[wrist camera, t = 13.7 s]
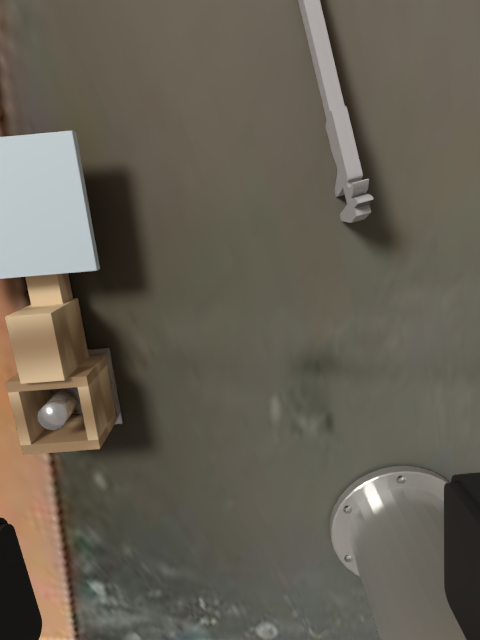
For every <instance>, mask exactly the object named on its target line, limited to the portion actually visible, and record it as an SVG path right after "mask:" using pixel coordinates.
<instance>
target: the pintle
mask: <svg viewBox="0 0 480 640" xmlns="http://www.w3.org/2000/svg"><path fill="white" fill-rule="evenodd" d="M88 355H89V356H102V355H106V361H107V367H108V372H109V378H110V384H111V389H112V395H113V401H114V407H115V412H116V418H117V421H116V423H115V424H123V419H122V413H121V408H120V402H119V397H118V391H117V386H116V380H115V374H114V369H113V363H112V358H111V352H110V347H109V348H97V349H88ZM50 391H51V395H52V398H51V399H50V400H49V401H48V402H47V403H46V404H45V405H44V406H43V407H42V408H41V409H40V411H39V412H38V421H39V423H40V424H41V426H43V427H44V428H46V429H48V430H57V429H59V428H61V427H62V426H63V424H64V423H65V422H66V421H67V419H68V418H69V417H70V416H71V415H81V414H83V412H82V407H81V402H80V397H79V392H78V387H73V388H60V389H50Z"/></svg>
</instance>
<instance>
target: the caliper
mask: <svg viewBox="0 0 480 640" xmlns="http://www.w3.org/2000/svg"><path fill="white" fill-rule="evenodd" d="M298 2H299V6H300V10H301V14H302V18H303V23H304V27H305V31H306V35H307V39H308V43H309V48H310V52H311V56H312V60H313V64H314V69H315V73H316V77H317V81H318V85H319V90H320V94H321V98H322V102H323V106H324V110H325V115H326V119H327V123H326V130H327V134H328V137H329V141H330V147H331V150H332V154H333V157H334V160H335V161H336V166H337V170H338V173H337V179H336V185H335V195H336V197H340V196H343V195H345V198H346V202H347V205H346V207H345V208H344V210H343V211H342V212H341V213H340V218H341V220H342V221H344V222H348V223H352V222H356V221H360V220H363V219H365V218H366V217H367V216H368V215H369V214H370V213H371V209H370V204H369V203H370V202H371V201H372V200H373V197H372V196H371V195H370V194H366V192H367V190H368V185H369V179H365V180H362V177H363V173H362V169H361V164H360V160H359V156H358V152H357V148H356V143H355V139H354V135H353V131H352V127H351V123H350V118H349V114H348V110H347V106H346V107H345V105H344V101H343V97H342V93H341V88H340V84H339V80H338V76H337V71H336V67H335V63H334V58H333V54H332V50H331V46H330V41H329V37H328V33H327V29H326V24H325V20H324V16H323V12H322V7H321V3H320V0H298Z"/></svg>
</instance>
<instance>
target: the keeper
mask: <svg viewBox="0 0 480 640" xmlns="http://www.w3.org/2000/svg"><path fill="white" fill-rule="evenodd" d="M99 269H100V266H99V260H98V254H97V249H96V243H95V237H94V231H93V226H92V220H91V214H90V209H89V203H88V197H87V192H86V186H85V180H84V175H83V169H82V163H81V158H80V152H79V146H78V141H77V135H76V132H74V131H62V132H52V133H41V134H30V135H19V136H8V137H0V279H3V278H15V277H27V276H39V275H51V274H62V273H74V272H86V271H97V270H99Z"/></svg>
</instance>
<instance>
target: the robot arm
mask: <svg viewBox="0 0 480 640" xmlns="http://www.w3.org/2000/svg"><path fill="white" fill-rule="evenodd" d="M329 529H330V535H331V540H332V544H333V547H334V550H335V552H336V554H337V556H338V558H339V560H340V561H341V562H342V563H343V564H344V565H345V566H346V568H348V569H349V570H350V571H352V572H353V573H354V574H356V575H358V576H360V578H361V581H362V584H363V587H364V591H365V594H366V597H367V600H368V603H369V606H370V610H371V613H372V616H373V619H374V622H375V625H376V629H377V632H378V635H379V638H380V640H480V473H469V474H459V475H454V476H453V477H452V479H451V483H450V482H448V481H447V480H446V479H445V478H444V477H442V476H440V475H438V474H437V473H435V472H433V471H430V470H427V469H424V468H421V467H413V466H393V467H388V468H383V469H379V470H377V471H374V472H371V473H369V474H367V475H365V476H363V477H361V478H360V479H358V480H356V481H355V482H354V483H353V484H352V485H350V486H349V487H348V488H347V489H346V490H345V491H344V492H343V494H342V495H341V496H340V497H339V499H338V501H337V502H336V504H335V506H334V508H333V511H332V514H331V517H330V528H329ZM41 629H42V619H41V615H40V612H39V608H38V605H37V602H36V598H35V595H34V592H33V588H32V585H31V582H30V579H29V575H28V572H27V569H26V565H25V562H24V559H23V555H22V552H21V549H20V546H19V542H18V539H17V536H16V532H15V529H14V527H13V526H12V525H11V524H8V523H7V521H6V520H5V519H4V518H0V640H39V637H40V634H41Z"/></svg>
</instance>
